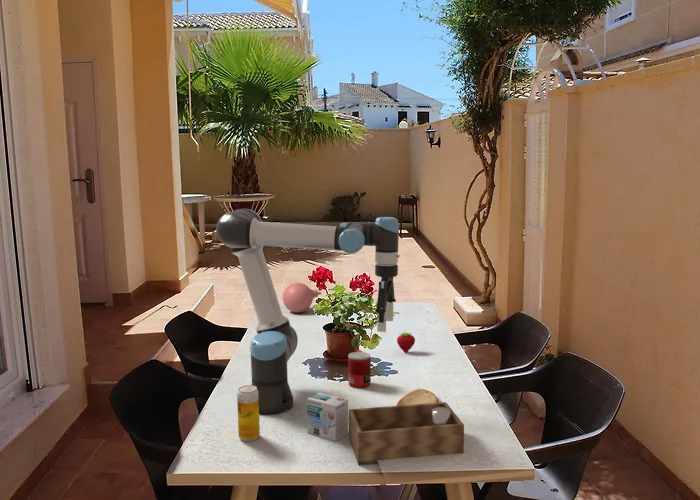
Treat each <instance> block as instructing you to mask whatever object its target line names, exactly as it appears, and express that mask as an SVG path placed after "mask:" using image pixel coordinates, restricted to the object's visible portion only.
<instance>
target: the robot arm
mask: <svg viewBox="0 0 700 500" xmlns="http://www.w3.org/2000/svg"><path fill="white" fill-rule="evenodd" d="M216 223H217V224H216V228H215V231H216V236H217V239H218V240H219V241H220V243H222V244H223V245H224V246H226V247H228V248H230V251H231V255H234V256H236V257H237V258H238V262H239V265H240V268H241V270H242V271H241V272H242V273H243V274H242V275H243V277H244V280H245V284H246V287H247V290H248V293H249V297H250V300H251V303H252V306H253V310H254V313H255V315H256V318H257V322H258V323H257V326H256V328H255V330H256V334H255V335H254V336H253V337H252V338H251V340H250V345H249V351H250V370H251V385H252V386H256V387H257V390H258V397H259V415H260V414H261V415H273V414H279V413H284V412H286V411H288V410H290V409H291V408H293V406H294V403H295V402H294V396H293V392H292V389H291V387H290V384H289V379H288V361H290V358H291V357H292V355H294V353H295V351H296V350H297V347H298V342H299V341H298V339H299V338H298V334H297V331H296V329H295V328H294V327H292V326H291V323H290V320H289V318H288V317H286V316H285V315H283V312H282V309H281V305H280V303H279V299H278V296H277V293H276V290H275V286H274V284H273V279H272V277H271V273H270V270H269V266H268V264H267V260H266V257H265V255H264V251H263V249H264V246H265V247H277V248H278V247H280V248H281V247H282V248H295V249H309V250H311V249H312V250H325V251H327V250H328V251H338V252H344V253H346V254H356V253H358V252H360V251H361V250H362V249H363V247H375V255H374V259H375V260H374V262H375V265H374V268H375V269H374V274H375V276H376V277H379V278H381V279H380V281H379V282H378V291H377V292H378V293H377V301H376V302H377V303H376V309H375V310H374V311H375V313H377V325H376V326H377V332H380V333H386V332H387V322H394V303H396V300H397V299H396V298H395V287H394V278H395V277H397V276H398V275H399V274H398V273H399V265H398V261H399V258H400V257H401V256H400V254H399V238H400V237H399V235H400V232H399V231H400V230H399V226H400V225H399V220H398V218H396V217H392V216H380V217H379V216H378V217H377V218H375V222H374V223H372V222H371V223H366V222H351V221H349V222H342V223H340V225H339V226H333V225H320V224H319V225H318V224H317V225H316V224H305V223H304V224H301V223H288V222H287V223H286V222H274V221H273V222H272V221H271V222H270V221H262V219H261V216H260V215H259V213H257V212H255V211H254V210H252V209H249V208H239V209H238V208H237V209H235V210H233V211H230V212H228V213H225V214H223V215H222V216H220V218H219V219H218V221H217V222H216Z"/></svg>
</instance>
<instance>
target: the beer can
mask: <svg viewBox="0 0 700 500" xmlns="http://www.w3.org/2000/svg"><path fill="white" fill-rule="evenodd" d="M236 397H237V398H236V401H237V421H238V422H237V427H238V428H237V430H238V438H240V440H241V441H243V442H254V441H256V440H257V439H258V438H259V436H260V413H259V397H258V390H257V387H256V386H252V384H248V385H247V384H246V385H242V386H240V387H239V388H238V389H237V392H236Z"/></svg>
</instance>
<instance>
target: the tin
mask: <svg viewBox="0 0 700 500" xmlns="http://www.w3.org/2000/svg"><path fill="white" fill-rule="evenodd" d="M449 424H450V410H449V409H447V408H444V407H437V408H434V409H432V426H436V425H449Z"/></svg>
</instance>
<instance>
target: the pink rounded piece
mask: <svg viewBox="0 0 700 500" xmlns="http://www.w3.org/2000/svg"><path fill="white" fill-rule="evenodd" d="M319 295H322V292H321V291H318V289H311V288H310V287H309V286H308V285H307V284H305V283H303V282H293V283H291V284H289V285H288V286H287V287H286V288H285V289H284V292H283V294H282V301H283V305H284V306H285V308H286V309H287V310H289V311H290V312H292V313H295V314H297V313H298V314H300V313H304V312H305V311H307V310H309V308H310V307H311V306H312V303H313V301H314V300H315V299H314V298H317V297H319Z"/></svg>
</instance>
